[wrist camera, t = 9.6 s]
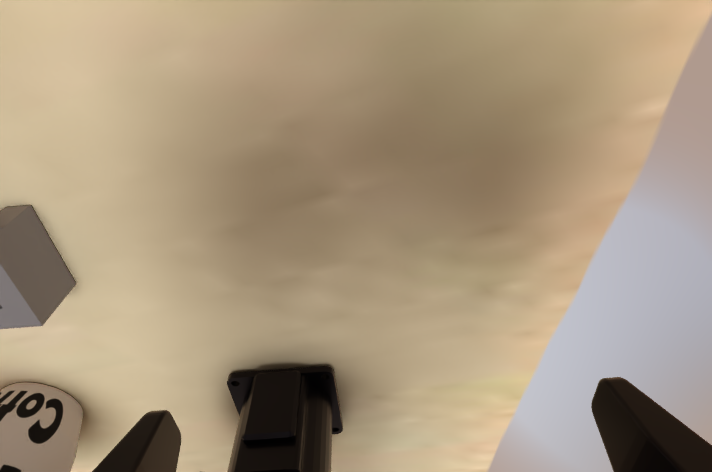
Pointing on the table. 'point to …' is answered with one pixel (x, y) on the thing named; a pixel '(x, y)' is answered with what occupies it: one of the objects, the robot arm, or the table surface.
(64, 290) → the end cap
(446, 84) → the table surface
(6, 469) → the cup
